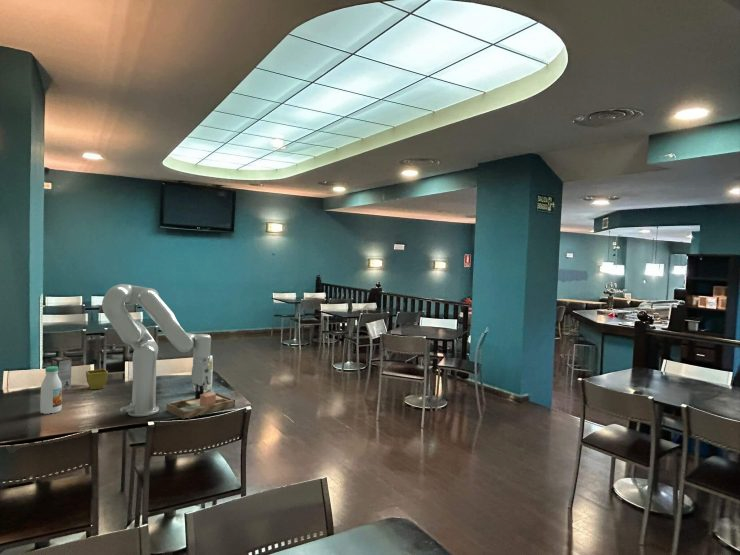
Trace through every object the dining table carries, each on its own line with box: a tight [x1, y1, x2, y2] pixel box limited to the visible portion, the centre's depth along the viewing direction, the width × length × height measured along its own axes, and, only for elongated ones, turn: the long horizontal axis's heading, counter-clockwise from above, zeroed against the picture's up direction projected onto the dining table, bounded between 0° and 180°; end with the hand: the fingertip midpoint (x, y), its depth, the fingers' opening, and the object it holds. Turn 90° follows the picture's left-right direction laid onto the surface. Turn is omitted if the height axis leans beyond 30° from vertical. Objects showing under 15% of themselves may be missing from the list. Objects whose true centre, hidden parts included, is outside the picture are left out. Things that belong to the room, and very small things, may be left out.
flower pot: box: [85, 368, 109, 390], centre depth 234 cm, size 9×9×9 cm
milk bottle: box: [39, 365, 63, 415], centre depth 197 cm, size 8×8×20 cm
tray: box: [165, 392, 236, 420], centre depth 210 cm, size 26×16×3 cm, turn 141°
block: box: [200, 391, 216, 407], centre depth 207 cm, size 5×5×5 cm
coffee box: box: [50, 355, 73, 391], centre depth 231 cm, size 9×6×16 cm
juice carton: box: [192, 354, 214, 394], centre depth 237 cm, size 8×9×19 cm
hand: (199, 398), depth 210 cm, fingers closed
